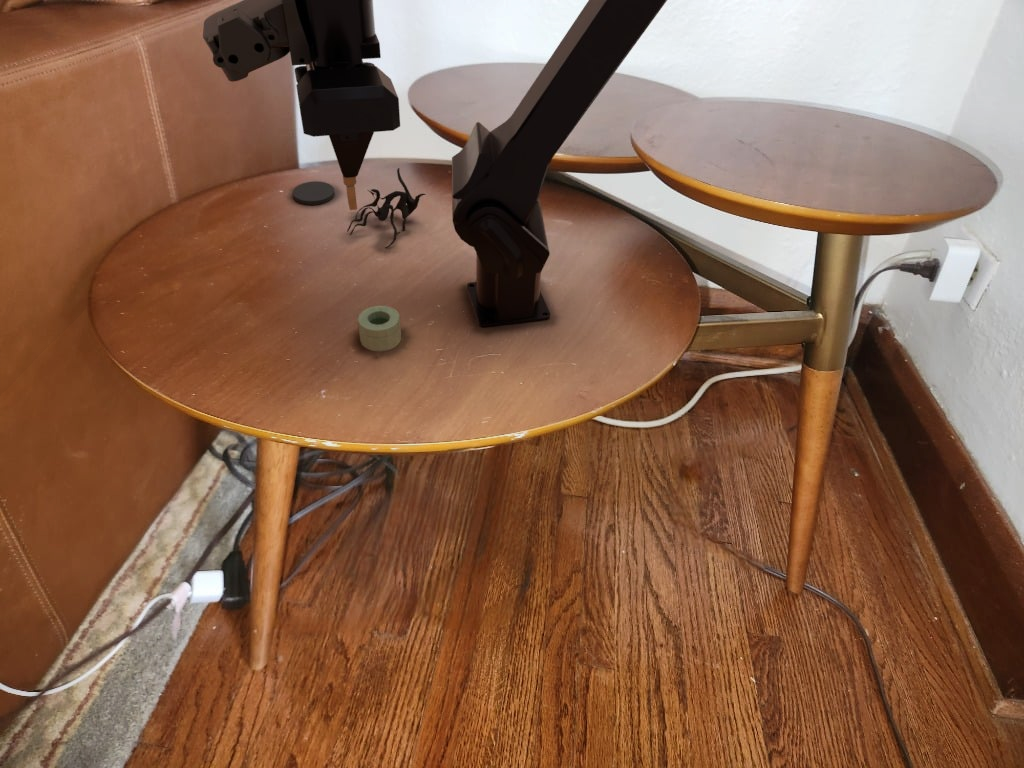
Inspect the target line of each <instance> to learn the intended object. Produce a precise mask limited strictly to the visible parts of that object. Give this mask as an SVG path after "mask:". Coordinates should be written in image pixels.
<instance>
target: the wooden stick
mask: <svg viewBox="0 0 1024 768" xmlns="http://www.w3.org/2000/svg"><path fill="white" fill-rule="evenodd" d="M342 180H343V181H342V182H343V184H344V185H345V188H346V196H347V204H348V208H349V210H350V211H357V210H358V204H357V195H356V194H357V193H356V187H355V185H356V184H357V176H356V177H350V178H345V177H343V176H342Z"/></svg>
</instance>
